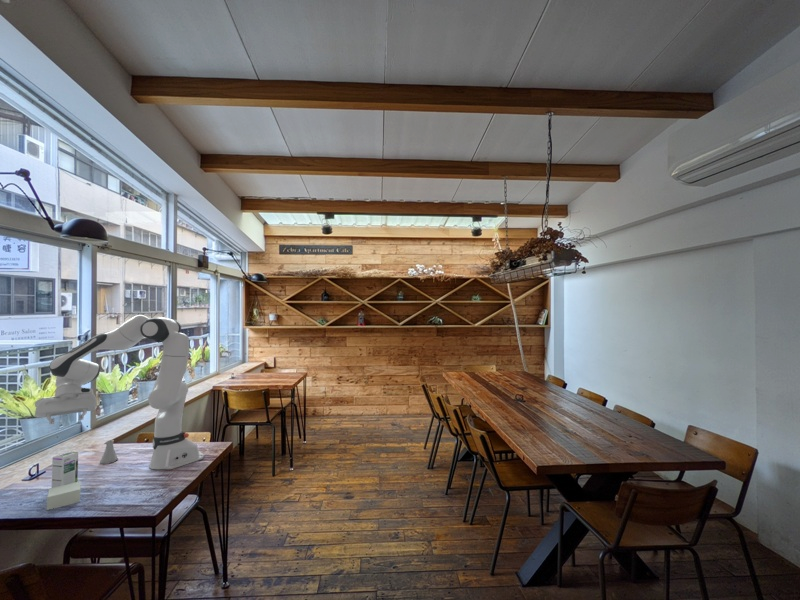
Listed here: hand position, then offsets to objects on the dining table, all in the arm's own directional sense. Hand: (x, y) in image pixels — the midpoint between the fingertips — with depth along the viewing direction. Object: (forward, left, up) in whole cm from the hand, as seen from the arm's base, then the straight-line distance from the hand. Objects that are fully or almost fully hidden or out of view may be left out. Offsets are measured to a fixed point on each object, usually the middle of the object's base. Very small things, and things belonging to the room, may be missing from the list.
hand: (66, 421), depth 152 cm
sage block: (0, +26, -26) cm, 36 cm away
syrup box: (0, +13, -26) cm, 29 cm away
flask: (-16, -11, -26) cm, 32 cm away
